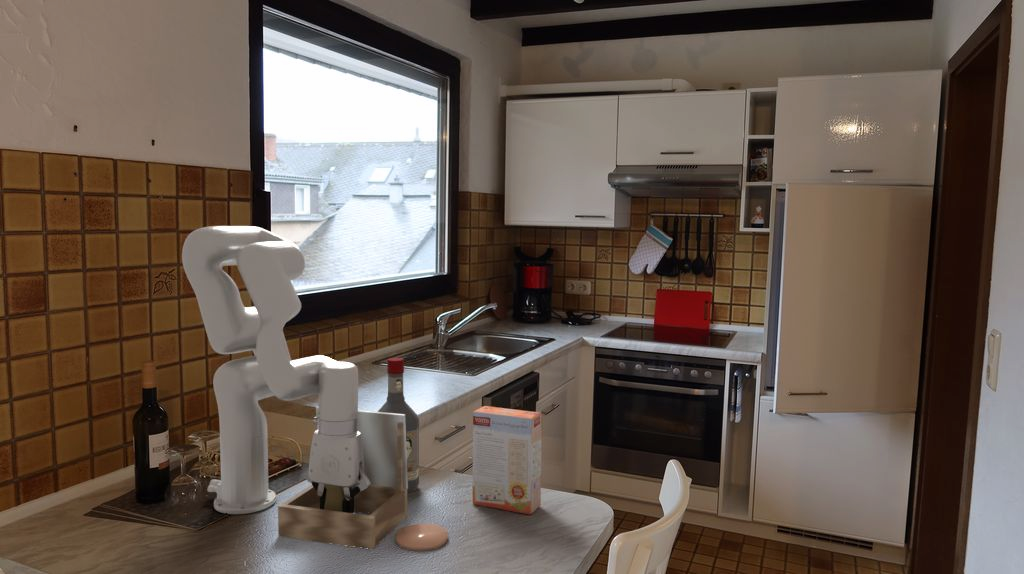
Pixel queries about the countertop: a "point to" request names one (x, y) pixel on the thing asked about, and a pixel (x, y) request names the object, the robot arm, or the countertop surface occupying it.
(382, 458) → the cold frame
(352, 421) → the robot arm
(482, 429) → the cracker box
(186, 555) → the countertop surface
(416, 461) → the liquor
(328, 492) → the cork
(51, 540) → the countertop surface
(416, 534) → the peach flat disc
